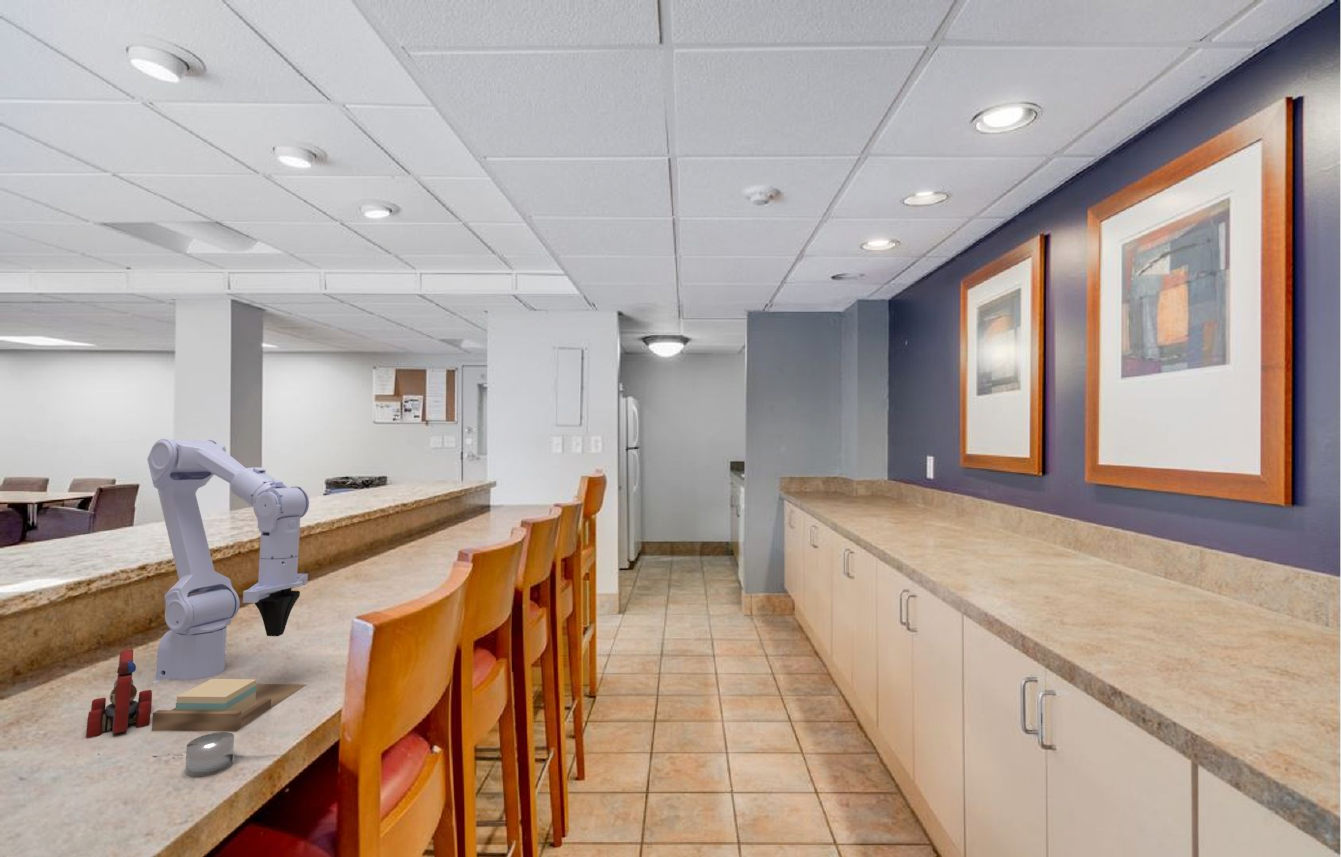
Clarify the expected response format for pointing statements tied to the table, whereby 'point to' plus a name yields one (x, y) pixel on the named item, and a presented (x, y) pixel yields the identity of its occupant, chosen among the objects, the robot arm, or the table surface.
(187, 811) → the table surface
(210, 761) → the grey tin
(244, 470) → the robot arm
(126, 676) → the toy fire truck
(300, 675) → the table surface
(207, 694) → the carton
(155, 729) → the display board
